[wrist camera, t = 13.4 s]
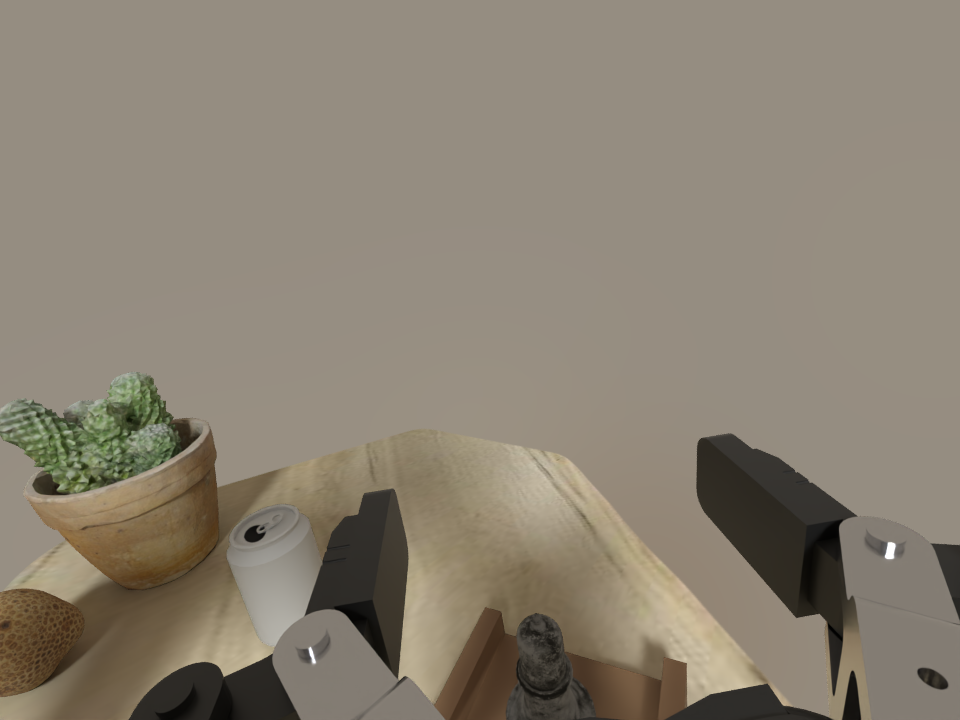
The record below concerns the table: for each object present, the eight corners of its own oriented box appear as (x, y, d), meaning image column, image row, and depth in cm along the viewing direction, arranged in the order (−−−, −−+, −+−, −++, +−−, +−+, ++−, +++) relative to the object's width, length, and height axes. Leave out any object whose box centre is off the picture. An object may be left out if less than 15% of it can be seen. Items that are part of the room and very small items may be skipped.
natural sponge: (-58, 725, 41) (-119, 643, 38) (46, 637, 50) (3, 563, 47) (18, 735, 39) (-40, 649, 36) (114, 642, 48) (73, 565, 45)
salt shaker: (566, 689, 35) (550, 562, 31) (619, 768, 30) (607, 627, 26) (498, 731, 33) (471, 601, 29) (540, 823, 28) (516, 679, 24)
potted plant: (187, 505, 71) (124, 353, 63) (278, 518, 64) (220, 350, 56) (49, 600, 55) (-58, 413, 47) (150, 631, 48) (44, 418, 40)
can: (252, 619, 48) (214, 524, 44) (322, 579, 52) (293, 488, 48) (269, 669, 42) (227, 564, 38) (346, 620, 46) (315, 520, 42)
